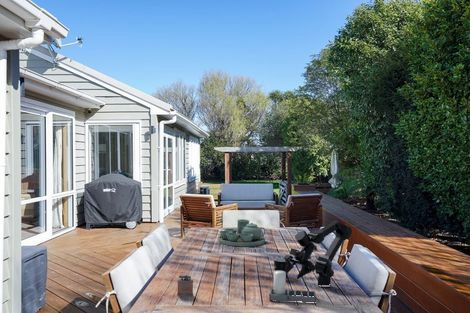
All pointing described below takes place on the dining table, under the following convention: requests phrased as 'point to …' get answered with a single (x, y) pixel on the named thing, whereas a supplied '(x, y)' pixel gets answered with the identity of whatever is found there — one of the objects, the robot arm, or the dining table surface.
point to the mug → (280, 264)
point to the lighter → (185, 285)
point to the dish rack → (289, 296)
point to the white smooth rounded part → (279, 283)
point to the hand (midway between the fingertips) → (291, 276)
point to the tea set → (242, 235)
